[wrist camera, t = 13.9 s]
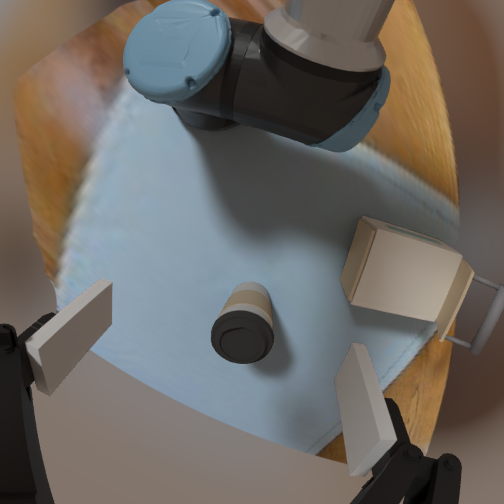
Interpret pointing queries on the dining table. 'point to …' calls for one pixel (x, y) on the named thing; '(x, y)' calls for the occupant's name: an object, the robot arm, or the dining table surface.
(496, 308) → the drawer with bar handle
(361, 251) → the carton
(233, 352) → the coffee cup
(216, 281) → the dining table surface
